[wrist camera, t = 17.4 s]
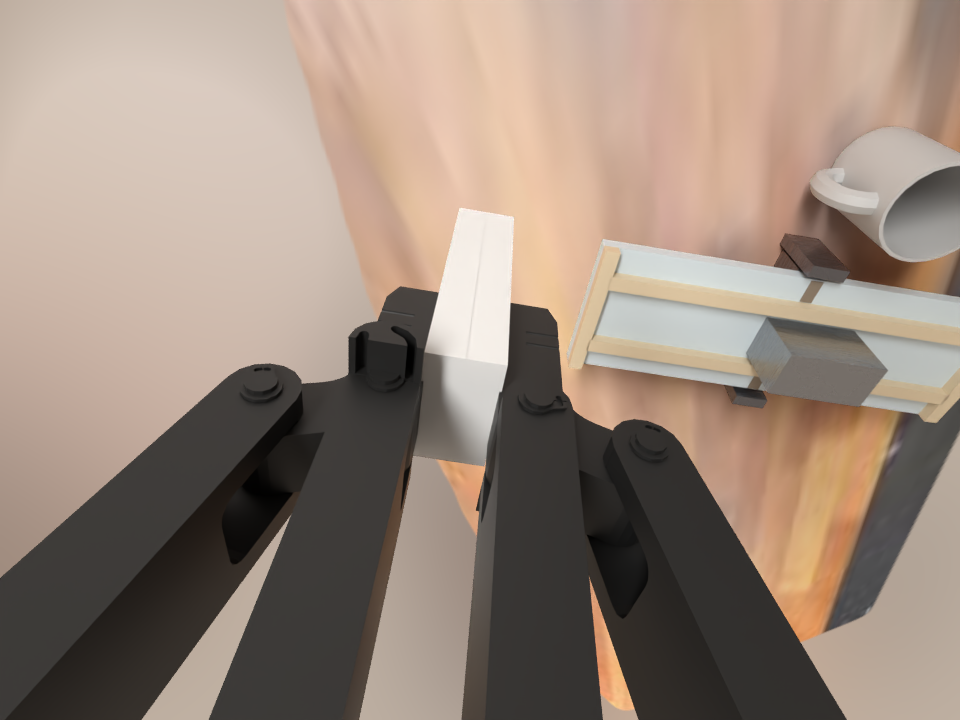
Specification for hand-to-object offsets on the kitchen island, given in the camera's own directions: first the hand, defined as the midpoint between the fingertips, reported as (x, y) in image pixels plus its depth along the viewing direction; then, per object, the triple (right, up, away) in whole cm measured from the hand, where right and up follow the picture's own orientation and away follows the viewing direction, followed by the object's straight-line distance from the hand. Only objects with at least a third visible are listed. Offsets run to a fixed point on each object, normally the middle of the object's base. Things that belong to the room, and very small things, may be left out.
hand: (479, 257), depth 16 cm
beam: (+27, 0, +34) cm, 43 cm away
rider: (+28, -1, +33) cm, 44 cm away
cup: (+31, +13, +29) cm, 44 cm away
